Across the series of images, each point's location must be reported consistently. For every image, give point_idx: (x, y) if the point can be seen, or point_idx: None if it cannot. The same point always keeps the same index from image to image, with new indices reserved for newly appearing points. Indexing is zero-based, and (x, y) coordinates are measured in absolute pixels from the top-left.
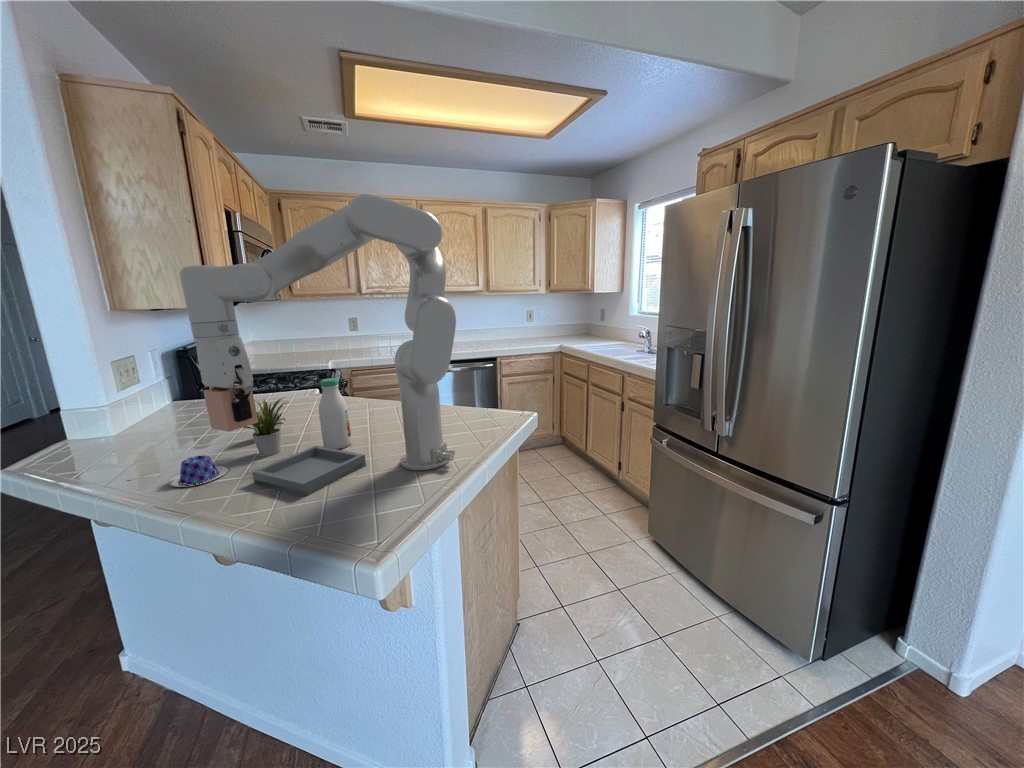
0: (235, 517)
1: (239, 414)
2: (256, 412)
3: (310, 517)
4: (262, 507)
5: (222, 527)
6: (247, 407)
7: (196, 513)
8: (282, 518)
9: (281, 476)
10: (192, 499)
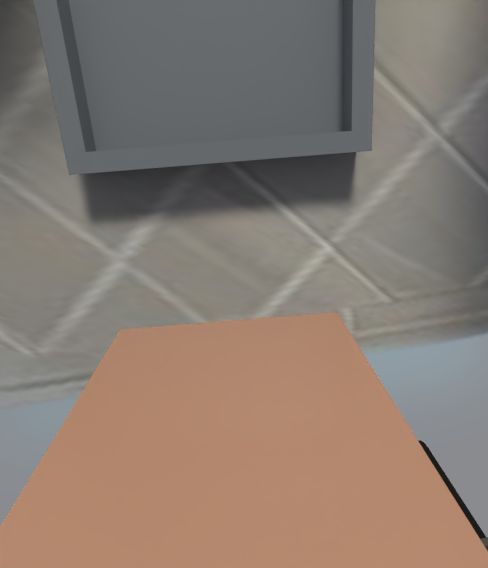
0: None
1: None
2: (360, 350)
3: (476, 224)
4: (291, 255)
5: None
6: (454, 497)
7: None
8: (404, 264)
9: (227, 147)
10: (43, 325)
